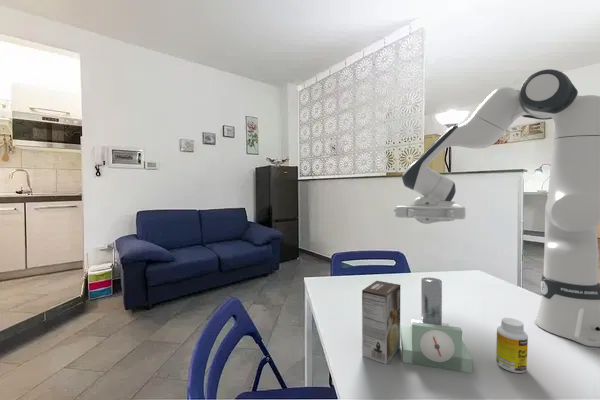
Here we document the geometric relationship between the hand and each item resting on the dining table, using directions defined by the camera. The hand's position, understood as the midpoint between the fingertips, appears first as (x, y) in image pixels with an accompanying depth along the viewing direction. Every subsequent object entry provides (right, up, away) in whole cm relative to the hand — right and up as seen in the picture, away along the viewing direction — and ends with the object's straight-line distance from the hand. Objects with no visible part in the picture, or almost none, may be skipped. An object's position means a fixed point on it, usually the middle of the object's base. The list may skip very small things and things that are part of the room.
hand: (431, 214), depth 86 cm
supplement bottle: (+8, -33, -21) cm, 40 cm away
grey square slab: (-6, -30, -14) cm, 33 cm away
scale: (-7, -33, -15) cm, 37 cm away
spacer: (-6, -28, -14) cm, 31 cm away
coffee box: (-19, -33, -15) cm, 41 cm away
